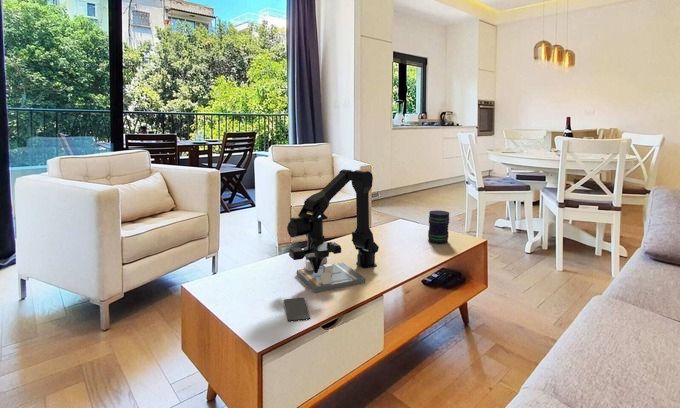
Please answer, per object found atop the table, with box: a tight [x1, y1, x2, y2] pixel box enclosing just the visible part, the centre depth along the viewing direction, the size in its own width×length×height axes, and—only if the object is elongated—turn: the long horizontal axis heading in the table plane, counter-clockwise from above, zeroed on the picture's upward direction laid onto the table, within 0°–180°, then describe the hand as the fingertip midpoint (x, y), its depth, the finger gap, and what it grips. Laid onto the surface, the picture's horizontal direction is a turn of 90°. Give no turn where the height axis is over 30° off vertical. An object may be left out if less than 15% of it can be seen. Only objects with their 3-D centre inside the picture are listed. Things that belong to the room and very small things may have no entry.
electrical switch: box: [303, 246, 328, 266], centre depth 165 cm, size 9×5×9 cm, turn 141°
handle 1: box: [305, 259, 313, 271], centre depth 153 cm, size 3×2×4 cm
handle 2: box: [321, 272, 331, 285], centre depth 140 cm, size 3×2×4 cm
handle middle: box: [322, 263, 333, 275], centre depth 148 cm, size 3×2×4 cm
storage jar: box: [427, 210, 450, 245], centre depth 196 cm, size 10×10×15 cm
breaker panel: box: [296, 262, 367, 294], centre depth 149 cm, size 20×19×2 cm
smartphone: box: [283, 296, 311, 323], centre depth 125 cm, size 7×1×15 cm
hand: (315, 272), depth 146 cm, fingers closed
